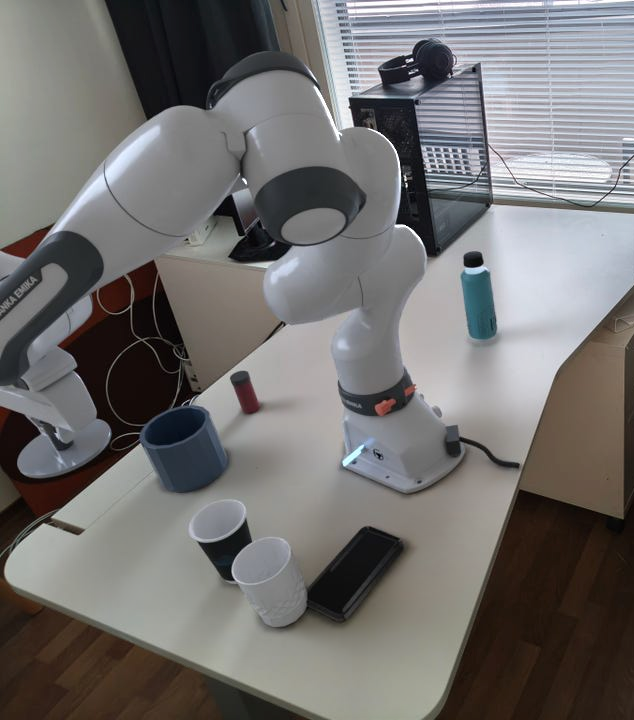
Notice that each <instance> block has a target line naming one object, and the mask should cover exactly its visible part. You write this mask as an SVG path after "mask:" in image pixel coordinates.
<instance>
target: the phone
mask: <svg viewBox="0 0 634 720" xmlns="http://www.w3.org/2000/svg"><path fill="white" fill-rule="evenodd" d="M404 546H405V545H404V542H403V540H402V538H400V537H398V536H396V535H393V534H391V533H389V532H386V531H383V530H382V529H379V528H376V527H374V526H371V525H366V526H363V527H361V528H360V529H359V530H358V531H357V532H356V533H355V535H354V536H352V538H351V539H350V540H349V541H348V543H347V544H346V545H344V547H343V548H342V549H341V550H340V551H339V552H338V554H337V555H335V557H334V558H333V559H332V560H331V561H330V562H329V564H328V565H327V566H326V567H325V568H324V569H323V570H322V571H321V572H320V573H319V575H318V576H317V577H316V578H315V579H314V580H313V581H312V582H311V583H310V585H309V586H308V587H307V588H306V591H307V601H306V603H307V607H308V609H309V608H310V609H311V610H313V611H315V612H317V613H320V614H322V615H324V616H326V617H327V618H330V619H331V620H334V621H335V622H338V623H340V622H345V621H346V620H348V618H350V616H351V615H352V614H353V612H354V611H355V610H356V609H357V608H358V607H359V606H360V605H361V603H362V601H363V600H364V599H366V597H367V596H368V594H369V593H370V592H371V590H372V589H373V588H374V587H375V586H376V585H377V583H378V582H379V580H381V578H382V577H383V576H384V575H385V573H386V572H387V571H388V569H389V568H390V567H391V566H392V565H393V563H394V562H395V561H396V560H397V558H398V557H399V556H400V555H401V553H402V552H403V551H404V548H405V547H404ZM307 607H306V608H307Z"/></svg>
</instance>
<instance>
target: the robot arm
mask: <svg viewBox="0 0 634 720" xmlns="http://www.w3.org/2000/svg"><path fill="white" fill-rule="evenodd" d="M205 108H206V109H203V108H200V107H197V106H193V105H176V106H171V107H169V108H166V109H164V110H162V111H161V112H159V113H158V114H156V115H154V116H153V117H152V118H150V119H148V120H147V121H145V122H144V123H143V124H141V125H140V126H139V127H137V128H136V129H135V130H134V131H133V132H131V133H130V134H128V135H127V136H126V137H125V138H124V139H122V140H121V142H119V144H117V145H116V147H115V148H114V149H113V150H112V151H111V152H110V153H109V154H108V155H107V156H106V158H104V159H103V161H102V162H101V163H100V164H99V166H98V167H97V168H96V169H95V170H94V171H93V173H92V175H91V176H90V177H89V178H88V179H87V180H86V182H85V183H84V185H83V186H82V187H81V188H80V190H79V191H78V193H77V194H76V196H75V197H74V198H73V200H72V201H71V203H70V204H69V206H68V207H67V208H66V209H65V210H64V212H63V213H62V214H61V216H60V217H59V218H58V220H57V221H56V222H55V223H54V224H53V226H52V227H51V228H50V229H49V231H47V233H46V235H45V236H44V237H43V239H42V240H41V242H40V243H39V244H38V245H37V247H36V248H35V249H34V250H33V251H32V252H31V253H30V254H29V255H28V256H27V257H26V258H24V257H19V256H15V255H12V254H9V253H7V252H4V251H2V250H0V407H3V408H6V409H8V410H11V411H14V412H17V413H20V414H22V415H24V416H25V417H26V418H27V419H28V420H29V421H30V422H31V424H33V425H34V426H35V427H37V430H38V431H39V432H40V435H41V434H42V435H44V436H47V435H46V433H45V432H44V430H43V428H42V427H41V425H40V423H39V421H40V420H41V421H44V422H47V423H50V424H52V426H54V427H55V428H56V432H55V433H54V434H55V436H56V437H57V439H58V440H59V441H61V442H63V443H69V442H70V441H72V440H73V439H74V438H75V434H74V432H78V431H80V430H82V429H83V428H85V427H86V426H87V425H89V424H90V423H92V422H93V421H94V420H95V419H97V414H98V412H97V408H96V405H95V404H94V401H93V399H92V397H91V395H90V393H89V390H88V388H87V386H86V385H85V383H84V381H83V380H82V378H81V377H80V376H79V374H78V373H77V372H75V369H76V368H77V367H78V364H77V362H76V359H75V358H74V357H73V356H72V354H70V353H69V352H68V351H66V350H64V349H62V348H61V347H59V346H58V345H60V344H61V343H62V342H63V341H65V340H66V339H67V338H68V337H70V336H71V335H72V334H73V333H75V332H76V331H77V330H78V329H79V328H80V327H82V326H83V325H84V324H85V323H86V321H88V319H89V318H91V316H92V314H93V312H94V301H93V300H94V299H93V295H92V294H93V293H94V292H96V291H98V290H99V289H101V288H103V287H105V286H106V285H109V284H110V283H112V282H114V281H116V280H118V279H120V278H122V277H123V276H126V275H127V274H129V273H131V272H133V271H135V270H137V269H138V268H141V267H143V266H144V265H146V264H148V263H150V262H152V261H154V260H156V259H157V258H159V257H161V256H162V255H164V254H166V253H168V252H169V251H170V250H173V249H174V248H175V247H177V246H178V245H179V244H181V243H183V242H184V241H186V239H188V238H189V237H190V236H191V235H192V234H194V233H195V232H196V231H197V230H198V229H199V228H200V227H201V226H202V225H203V224H204V223H205V222H206V221H207V220H208V219H209V218H210V217H211V216H212V215H213V214H214V213H215V212H216V210H217V209H218V208H219V207H220V205H222V203H223V202H224V201H225V199H226V198H228V196H230V195H233V194H235V193H237V192H241V191H243V190H246V189H248V191H249V193H250V195H251V197H252V199H253V209H254V211H255V213H256V215H257V217H258V220H259V221H260V223H261V225H262V226H263V228H264V229H265V231H266V232H267V233H268V235H269V236H270V237H271V238H272V239H274V240H275V241H278V242H280V243H283V244H286V245H289V246H292V247H291V248H290V250H288V251H287V252H286V253H285V254H284V255H282V256H281V257H280V258H279V259H277V260H275V261H273V262H272V263H271V264H270V265H268V266H267V268H266V270H265V273H264V275H263V278H262V279H263V281H262V292H263V297H264V300H265V303H266V305H267V307H268V309H269V310H270V312H271V313H272V314H273V315H274V316H275V317H276V318H277V319H279V320H280V321H281V322H283V323H285V324H287V325H289V326H297V325H304V324H305V325H306V324H312V323H317V322H322V321H326V320H328V319H331V318H334V317H337V316H340V315H343V314H346V313H348V312H350V313H349V315H348V316H347V317H346V319H345V320H344V321H343V322H342V323H341V324H340V325H339V326H338V327H337V329H336V330H335V332H334V334H333V336H332V339H331V342H330V353H331V356H332V360H333V363H334V368H335V371H336V375H337V391H338V395H339V397H340V400H341V403H342V405H343V415H342V420H341V430H342V436H343V442H344V448H345V454H344V456H343V459H342V465H343V468H345V469H347V470H349V471H351V472H353V473H356V474H358V475H360V476H363V477H365V478H367V479H370V480H372V481H374V482H377V483H380V484H382V485H383V486H385V487H389V488H391V489H393V490H395V491H398V492H400V493H402V494H403V493H404V494H407V495H408V494H412V493H416V492H419V491H421V490H424V489H426V488H428V487H429V486H432V485H434V484H435V483H437V482H438V481H440V480H441V479H443V478H444V477H446V476H447V475H448V474H450V473H451V471H453V470H454V469H455V468H456V467H457V466H458V465H459V464H460V463H461V461H463V458H464V457H465V454H466V448H465V445H464V444H466V445H469V446H471V447H475V448H476V449H479V450H481V451H482V452H483V453H484V454H485V455H486V457H488V459H489V460H490V462H492V463H494V464H496V465H498V466H500V467H503V468H504V467H505V468H513V469H520V465H521V464H520V463H519V462H517V461H515V462H514V461H507V460H502V459H499V458H497V457H496V456H495V455H494V454H493V453H492V452H491V451H490V449H489V447H487V446H485V445H484V444H482V443H480V442H478V441H475V440H473V439H470V438H467V437H464V436H460V431H459V426H458V424H453V425H445V423H444V422H443V421H442V420H441V418H442V417H443V412H442V410H441V408H440V407H439V406H438V405H434V406H430V405H429V404H428V402H426V400H425V396H424V394H423V393H422V392H419V393H418V392H417V389H418V388H417V387H416V386H417V384H416V383H414V382H413V380H412V378H411V377H412V376H411V375H410V372H409V371H408V369H407V367H406V365H405V364H404V362H403V356H402V351H401V343H400V342H401V341H400V323H401V318H402V315H403V311H404V308H405V306H406V304H407V302H408V299H409V297H410V296H411V294H412V293H413V291H414V290H415V289H416V287H417V285H418V284H419V283H420V282H421V281H422V280H423V279H424V276H425V273H426V271H427V266H428V265H427V264H428V256H427V250H426V247H425V245H424V243H423V241H422V239H421V238H420V236H419V235H418V234H417V233H416V232H415V231H414V230H413V229H412V228H410V227H409V226H406V225H405V224H397V218H398V214H399V209H400V203H401V194H402V191H401V190H402V175H401V173H402V172H401V165H400V159H399V155H398V153H397V150H396V149H395V147H394V145H393V144H392V143H391V141H389V139H388V138H386V137H385V135H383V134H381V132H378V131H376V130H374V129H371V128H368V127H364V126H352V127H346V128H343V129H341V130H339V131H338V130H337V128H336V125H335V122H334V120H333V118H332V115H331V113H330V110H329V108H328V107H327V104H326V102H325V99H324V98H323V91H322V88H321V86H320V84H319V83H318V80H317V79H316V77H315V76H314V74H313V73H312V71H311V70H310V68H309V67H308V66H307V65H306V64H305V62H304V61H303V60H302V59H300V58H299V57H298V56H296V55H294V54H292V53H289V52H286V51H280V50H279V51H278V50H266V51H264V50H263V51H259V52H255V53H253V54H250V55H248V56H246V57H245V58H243V59H241V60H240V61H238V62H237V63H236V64H234V65H233V66H231V67H230V68H229V69H228V70H227V71H226V72H225V74H224V75H223V77H222V78H221V79H219V80H217V81H215V82H213V84H212V85H211V86H210V88H209V90H208V92H207V97H206V101H205Z"/></svg>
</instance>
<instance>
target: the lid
mask: <svg viewBox="0 0 634 720" xmlns="http://www.w3.org/2000/svg"><path fill="white" fill-rule="evenodd" d="M39 423H40V425H41V427H42V428H43V430H44V432H45V433H46V435H47V436H44V435H42V434H41V433H40V434H39V435H38V436H36V437H34V439H32V440H31V441H30V442H29V443H28V444H27V445H26V446H25V447H24V448H23V449H22V450H21V452H20V453H19V455H18V457H17V460H16V461H17V463H16V464H17V468H18V470H19V471H20V473H21V474H23V475H24V476H26V477H28V478H32V479H46V478H53V477H57V476H61V475H64V474H66V473H69V472H72V471H74V470H76V469H78V468H80V467H82V466H84V465H86V464H87V463H89V462H91V461H92V460H93V459H95V458H96V457H97V456H98V455H100V454H101V453H102V451H103V450H105V449H106V447H107V446H108V445H109V443H110V441H111V438H112V429H111V427H110V425H109V424H108V422H106V421H104V420H103V419H99V418H96V419H95V420H94V421H93V422H92V423H90V424H89V425H87V426H86V427H85V428H83V429H82V430H80V431H78V432H74V434H75V438H74V439H73V440H72V441H70V442H69V443H63V442H61V441H59V440H58V439H57V437H56V436H55V434H54V433H55V432H56V428H55V427H54V426H52V424H50V423H47V422H44V421H41V420H40V421H39Z"/></svg>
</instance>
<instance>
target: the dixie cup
mask: <svg viewBox="0 0 634 720" xmlns="http://www.w3.org/2000/svg"><path fill="white" fill-rule="evenodd" d="M188 534H189V536H190V537H191V538H192V539H193V540H194V541H196V542H197V544H198V546H199V547H200V548H201V550H202V551H203V553H204V555H205V556H206V557H207V558H208V560H209V561H210V563H211V564H212V565H213V567H214V569H215V570H216V572H217V573H218V575H220V577H221V579H223V580H225V581H226V582H227V583H228V584H231V585H238V584H237V582H236V580H235V579H234V577H233V575H232V565H233V562H234V560H235V558H236V556H237V555H238V554H239V553H240V551H241V550H243V549H244V548H245V547H246V546H247V545H249V544H250V543H252V542H253V538H252V534H251V530H250V527H249V523H248V518H247V508H246V506H245V505H244V504H243V503H242V502H241V501H239V500H236V499H221V500H216V501H214V502H211V503H209V504H206V505H205V506H204V507H202V508H201V509H200V510H198V511H197V512H196V514H194V515H193V517H192V518H191V520H190V522H189V525H188Z"/></svg>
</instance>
